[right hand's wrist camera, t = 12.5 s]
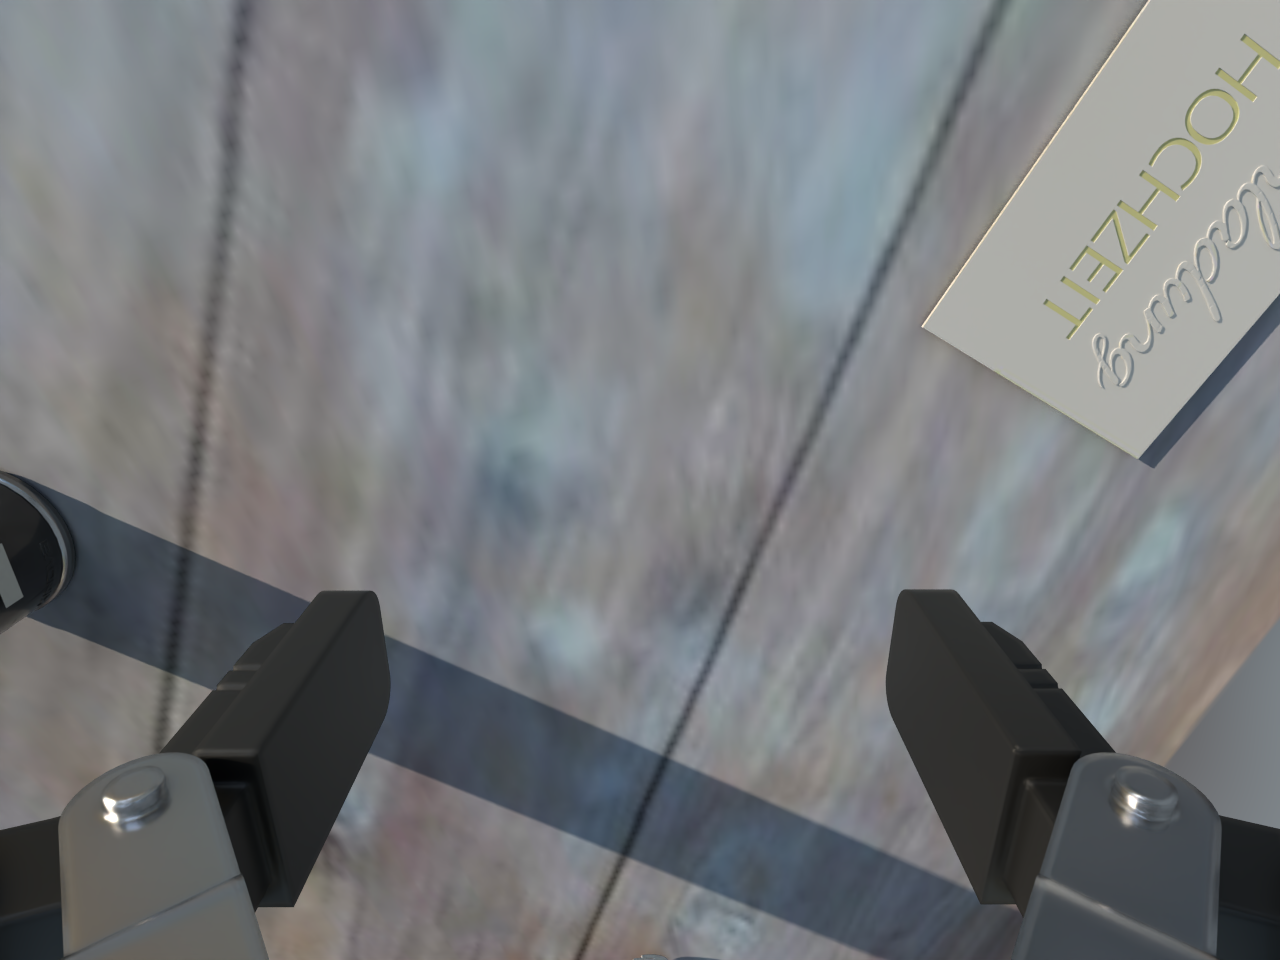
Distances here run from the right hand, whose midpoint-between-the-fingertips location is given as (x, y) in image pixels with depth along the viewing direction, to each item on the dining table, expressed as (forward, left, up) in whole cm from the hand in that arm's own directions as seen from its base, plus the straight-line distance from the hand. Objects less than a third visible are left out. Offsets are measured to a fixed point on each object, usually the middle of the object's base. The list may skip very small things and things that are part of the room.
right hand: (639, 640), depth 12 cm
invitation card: (-26, +9, -30) cm, 40 cm away
